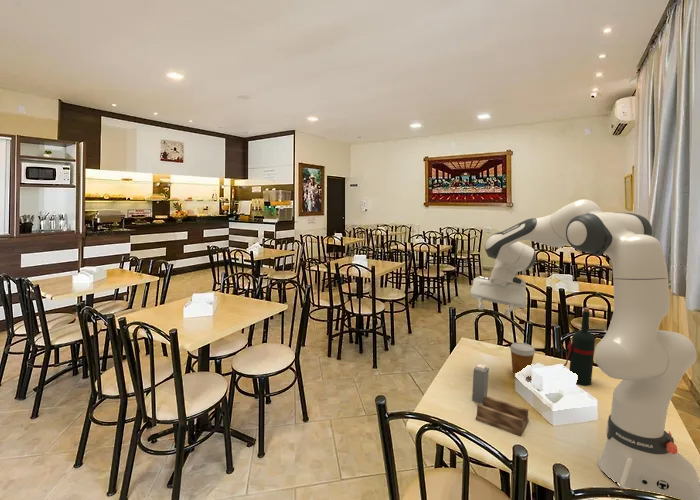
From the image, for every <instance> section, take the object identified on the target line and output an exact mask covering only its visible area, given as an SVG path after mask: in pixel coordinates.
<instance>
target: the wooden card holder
mask: <svg viewBox="0 0 700 500" xmlns="http://www.w3.org/2000/svg"><path fill="white" fill-rule="evenodd" d="M474 420H475V421H478V422H481V423H484V424H487V425H489V426H492V427H494V428H497V429H500V430H502V431H506V432H509V433H511V434H513V435H517V436H519V437H522V434H523V433H524V431H525V428H526V426H527V424H528V423H529V409H527V408H524V407H522V406H519V405H516V404H512V403H509V402H506V401H503V400H500V399H496V398H493V397H490V396H488V395H487V396H484V403H483V404H481V403H478V404H477V405H476V416H475V419H474Z"/></svg>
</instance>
